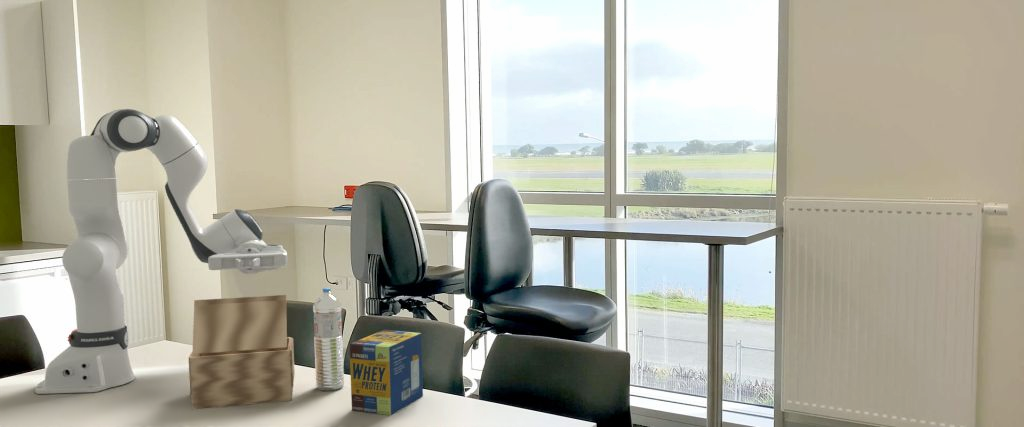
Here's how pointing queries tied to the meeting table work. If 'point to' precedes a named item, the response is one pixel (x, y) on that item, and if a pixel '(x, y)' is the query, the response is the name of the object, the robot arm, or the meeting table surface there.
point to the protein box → (386, 371)
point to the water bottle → (328, 342)
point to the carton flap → (239, 324)
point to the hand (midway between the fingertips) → (246, 264)
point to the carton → (242, 377)
